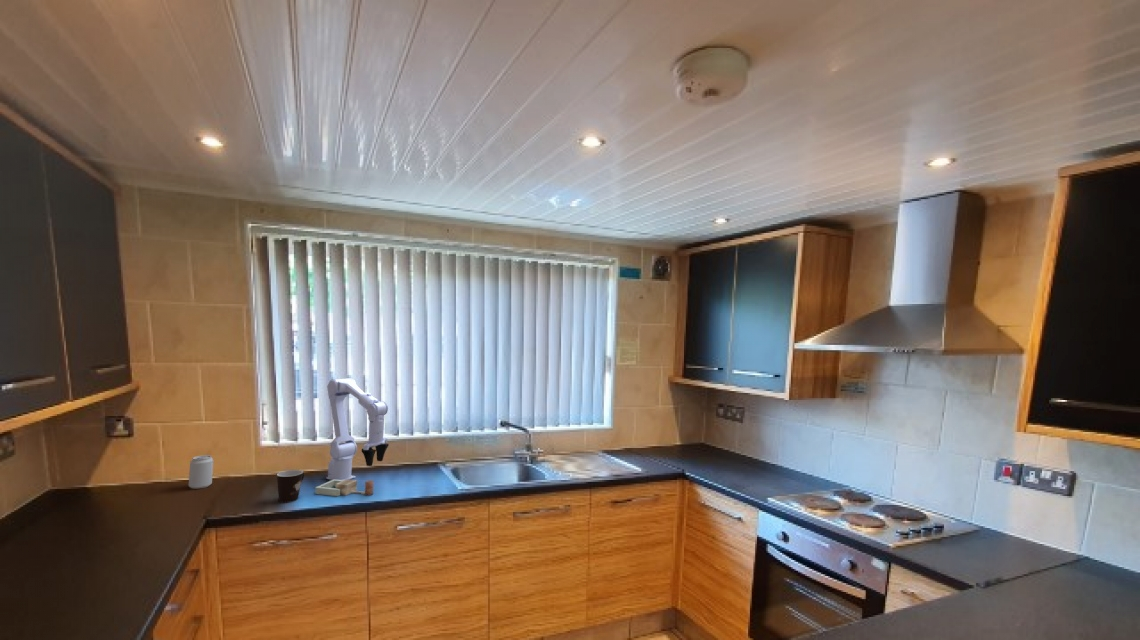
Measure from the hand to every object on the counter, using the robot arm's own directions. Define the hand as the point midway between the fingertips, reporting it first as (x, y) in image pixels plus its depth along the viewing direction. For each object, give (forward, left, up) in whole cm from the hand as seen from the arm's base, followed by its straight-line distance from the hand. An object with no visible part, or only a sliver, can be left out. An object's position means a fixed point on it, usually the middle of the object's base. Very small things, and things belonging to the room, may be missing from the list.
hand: (374, 463), depth 196 cm
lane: (-9, -11, -10) cm, 17 cm away
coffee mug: (-15, -25, -10) cm, 31 cm away
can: (-58, -35, -10) cm, 69 cm away
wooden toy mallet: (0, -9, -10) cm, 13 cm away
